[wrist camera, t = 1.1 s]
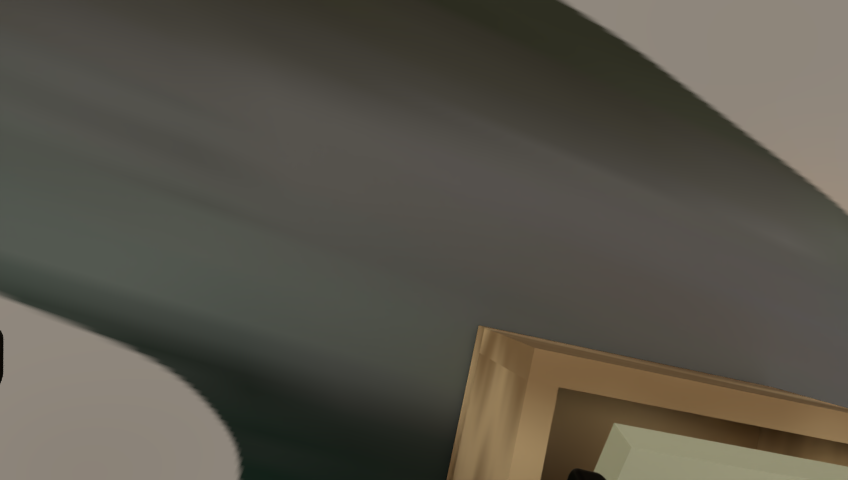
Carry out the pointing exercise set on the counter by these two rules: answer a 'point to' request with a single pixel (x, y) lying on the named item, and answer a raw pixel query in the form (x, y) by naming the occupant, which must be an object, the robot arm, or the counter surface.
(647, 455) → the lid
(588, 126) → the counter surface
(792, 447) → the box
